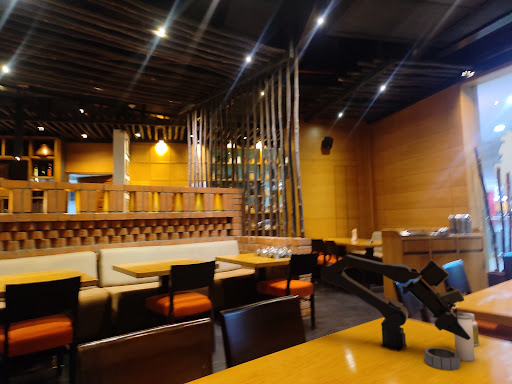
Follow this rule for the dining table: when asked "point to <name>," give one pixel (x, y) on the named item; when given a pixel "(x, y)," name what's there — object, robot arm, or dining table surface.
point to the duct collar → (442, 358)
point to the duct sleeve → (462, 345)
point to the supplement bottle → (475, 331)
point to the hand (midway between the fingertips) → (469, 336)
